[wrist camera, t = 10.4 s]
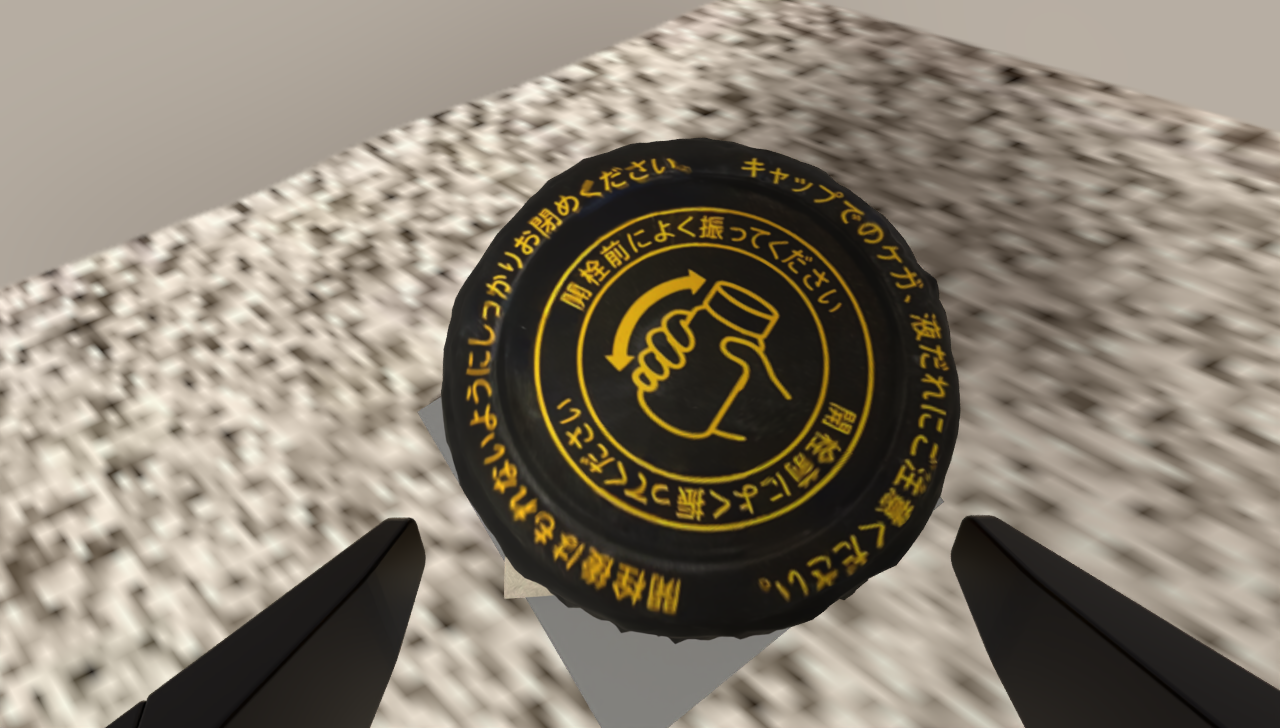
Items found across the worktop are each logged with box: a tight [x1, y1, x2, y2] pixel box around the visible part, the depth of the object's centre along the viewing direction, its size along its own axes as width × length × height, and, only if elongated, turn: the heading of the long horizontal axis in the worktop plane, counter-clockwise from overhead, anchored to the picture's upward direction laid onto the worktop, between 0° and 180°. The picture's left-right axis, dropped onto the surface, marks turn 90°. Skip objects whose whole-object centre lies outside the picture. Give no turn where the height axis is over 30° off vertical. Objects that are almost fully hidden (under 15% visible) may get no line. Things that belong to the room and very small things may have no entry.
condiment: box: [441, 138, 960, 644], centre depth 11 cm, size 7×8×12 cm
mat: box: [418, 397, 944, 728], centre depth 17 cm, size 12×12×1 cm
